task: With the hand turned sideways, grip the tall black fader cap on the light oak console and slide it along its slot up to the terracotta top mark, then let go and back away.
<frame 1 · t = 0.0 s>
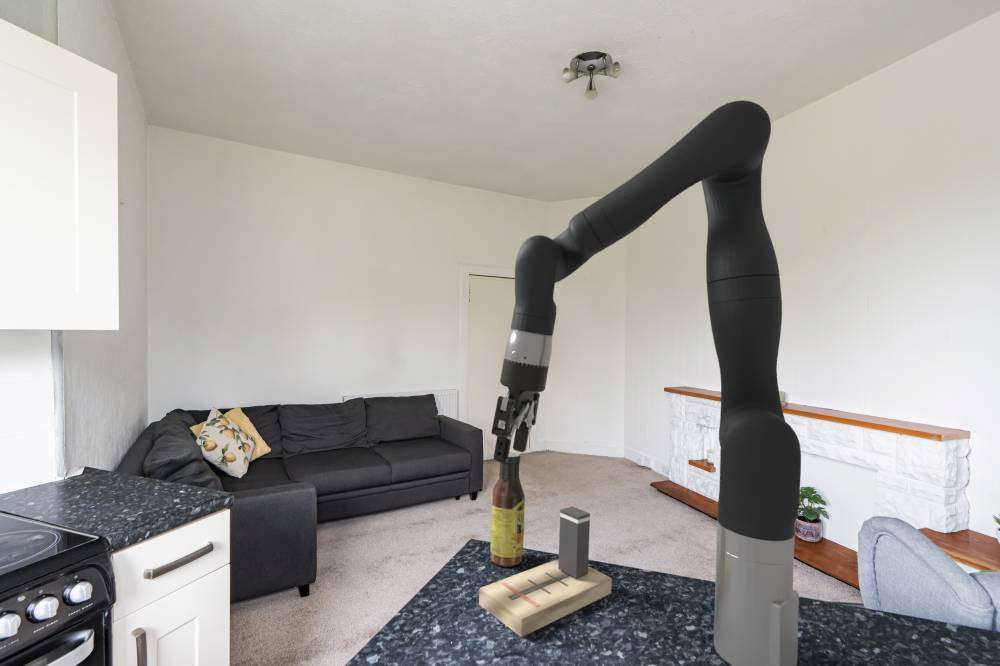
hand: (510, 455, 77), 22 cm above the countertop, tool pointing down, fingers open, 8 cm apart
fader cap: (574, 541, 79), point 8 cm above the countertop, slide at 0.0 cm
sauce bottle: (506, 561, 88), on the countertop
fader console: (547, 598, 75), on the countertop
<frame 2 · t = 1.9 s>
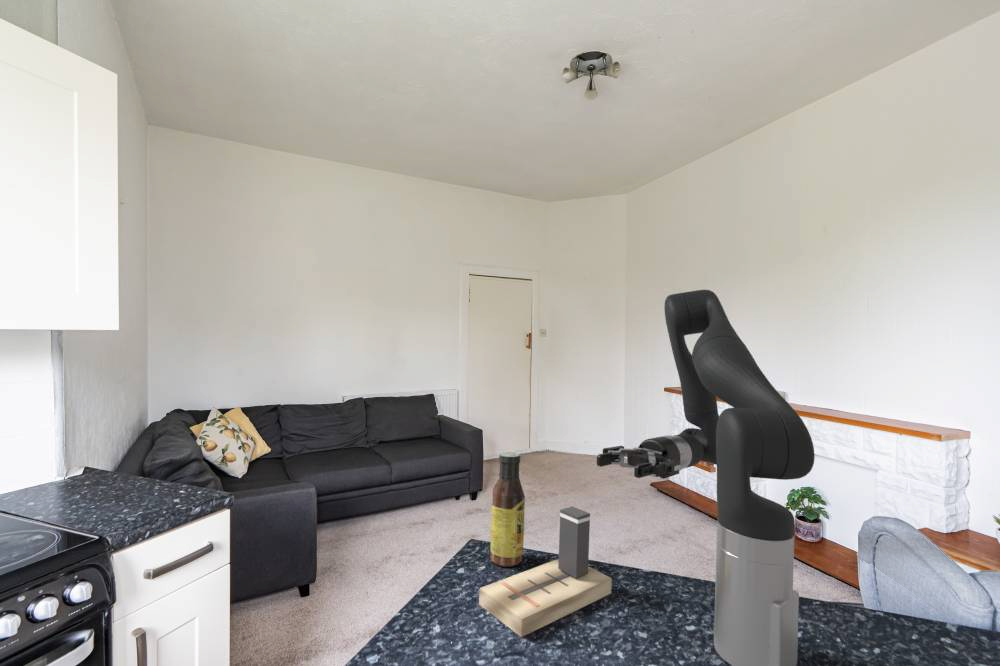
hand: (616, 466, 86), 19 cm above the countertop, tool horizontal, fingers open, 8 cm apart
nothing on the countertop moved.
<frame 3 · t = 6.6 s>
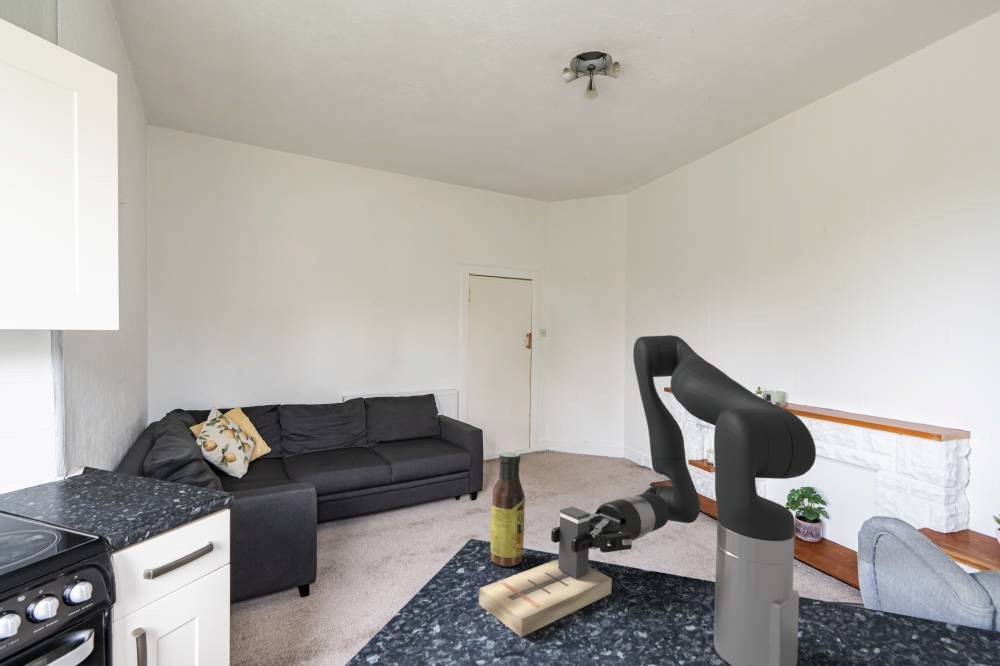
hand: (563, 540, 77), 8 cm above the countertop, tool horizontal, fingers closed on fader cap, 4 cm apart
fader cap: (574, 541, 79), point 8 cm above the countertop, slide at 0.0 cm, touching gripper
everything else where it was.
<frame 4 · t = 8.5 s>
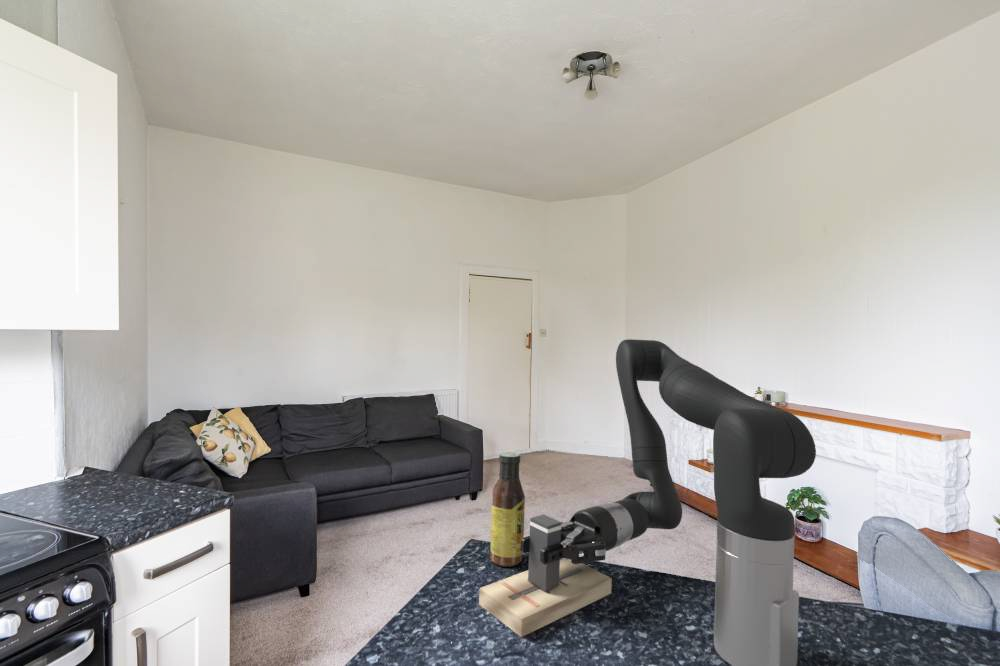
hand: (532, 551, 73), 8 cm above the countertop, tool horizontal, fingers closed on fader cap, 4 cm apart
fader cap: (544, 551, 75), point 8 cm above the countertop, slide at 7.0 cm, touching gripper
everything else where it was.
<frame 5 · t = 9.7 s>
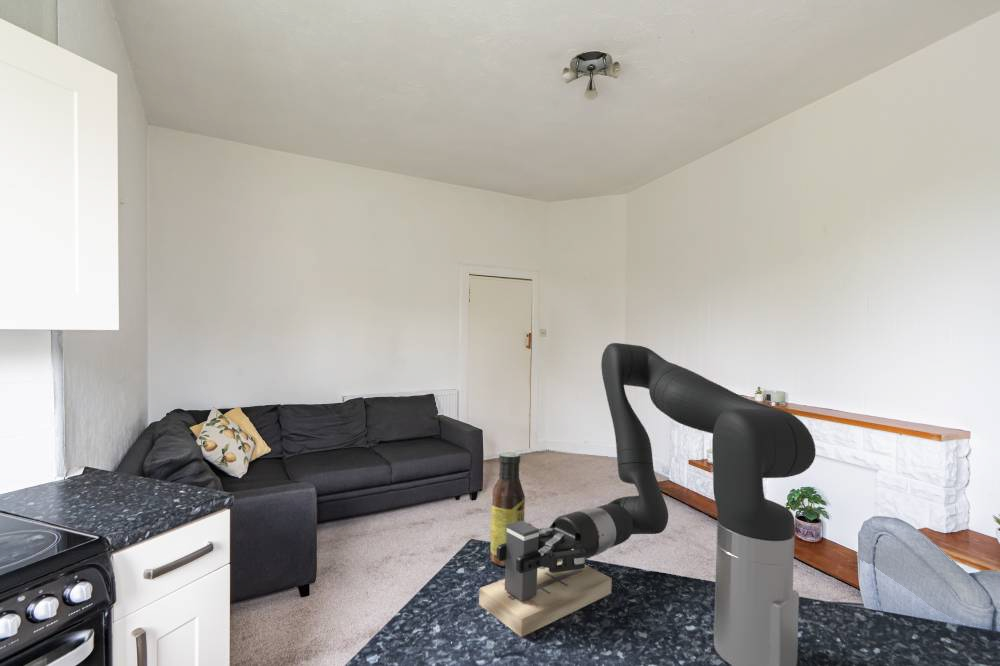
hand: (508, 559, 70), 9 cm above the countertop, tool horizontal, fingers closed on fader cap, 4 cm apart
fader cap: (521, 559, 72), point 8 cm above the countertop, slide at 11.9 cm, touching gripper
everything else where it was.
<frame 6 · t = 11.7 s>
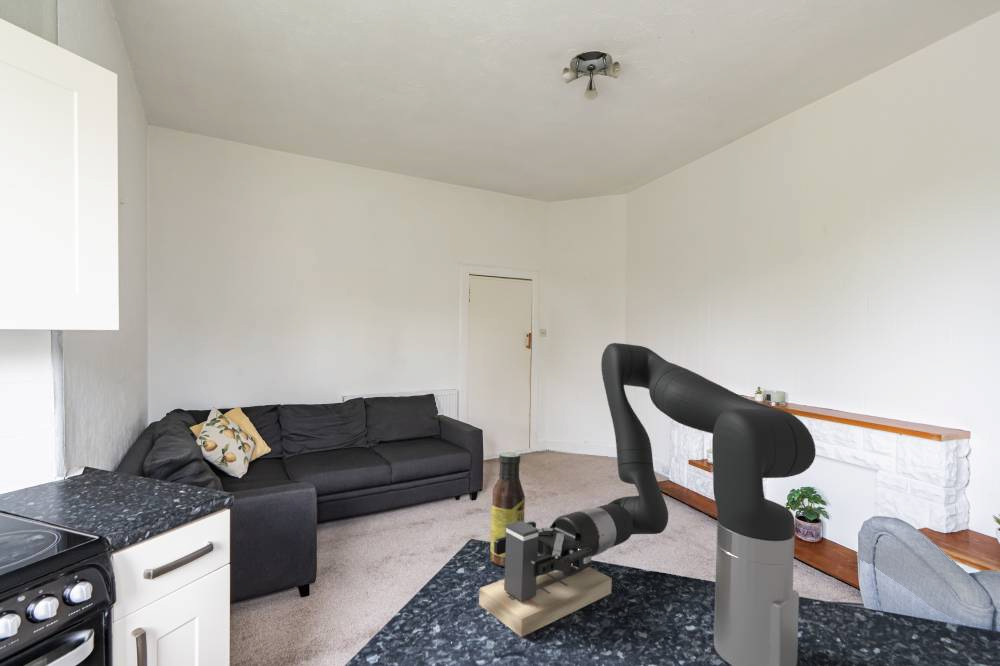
hand: (512, 558, 71), 8 cm above the countertop, tool horizontal, fingers open, 8 cm apart
fader cap: (521, 559, 72), point 8 cm above the countertop, slide at 12.0 cm
everything else where it was.
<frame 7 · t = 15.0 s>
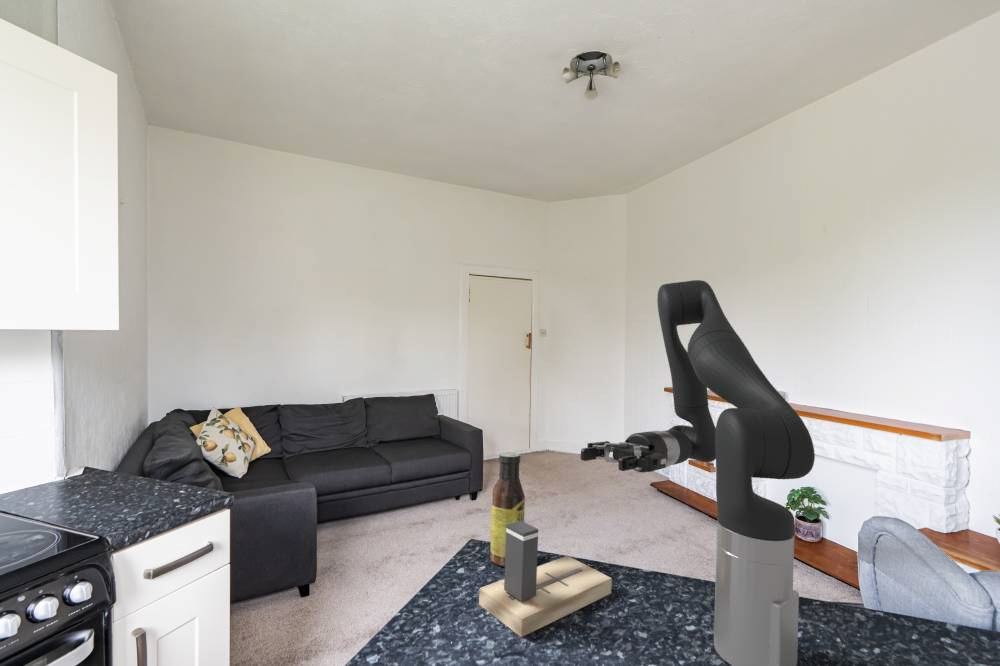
hand: (600, 459, 83), 21 cm above the countertop, tool horizontal, fingers open, 8 cm apart
nothing on the countertop moved.
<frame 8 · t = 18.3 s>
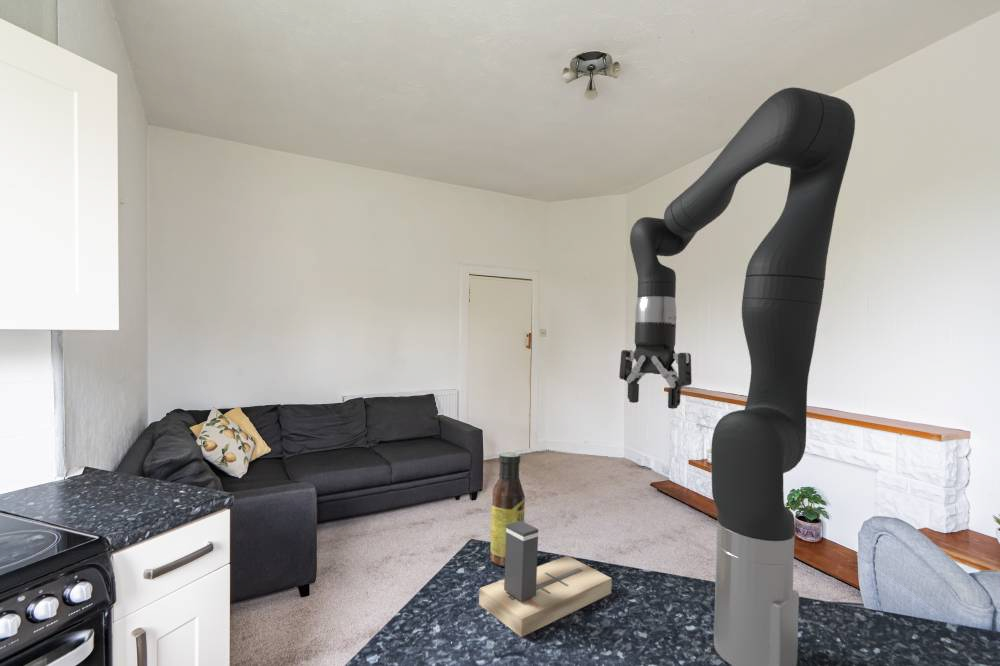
hand: (652, 405, 90), 30 cm above the countertop, tool pointing down, fingers open, 8 cm apart
nothing on the countertop moved.
at the end: fader cap slide at 12.0 cm; the gripper is holding nothing; sauce bottle moved 0.2 cm from its start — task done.
